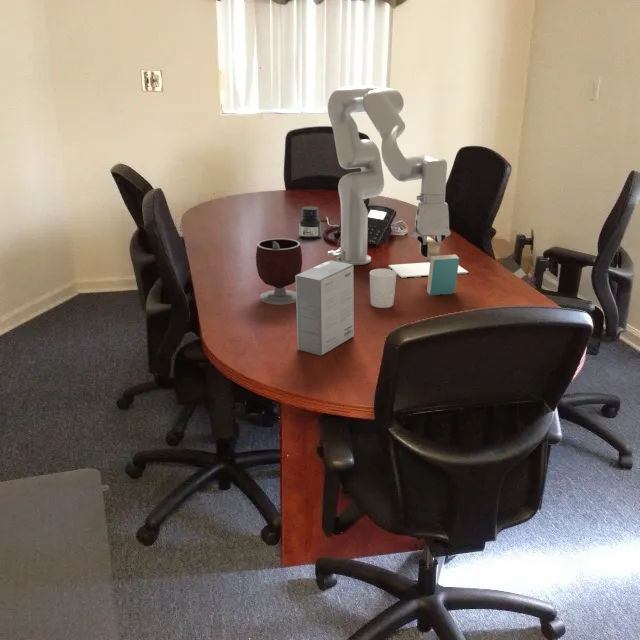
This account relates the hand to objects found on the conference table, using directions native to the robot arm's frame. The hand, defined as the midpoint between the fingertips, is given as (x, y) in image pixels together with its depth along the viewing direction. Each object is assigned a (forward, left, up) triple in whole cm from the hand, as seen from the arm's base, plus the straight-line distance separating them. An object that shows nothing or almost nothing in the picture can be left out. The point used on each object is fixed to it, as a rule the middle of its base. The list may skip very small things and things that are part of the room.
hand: (429, 255), depth 217 cm
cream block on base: (0, -2, 0) cm, 2 cm away
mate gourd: (-50, -5, -10) cm, 51 cm away
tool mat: (+5, +13, -9) cm, 17 cm away
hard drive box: (-44, -42, -10) cm, 61 cm away
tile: (0, -11, -9) cm, 14 cm away
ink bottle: (-25, +69, -10) cm, 74 cm away
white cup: (-21, -17, -10) cm, 29 cm away
